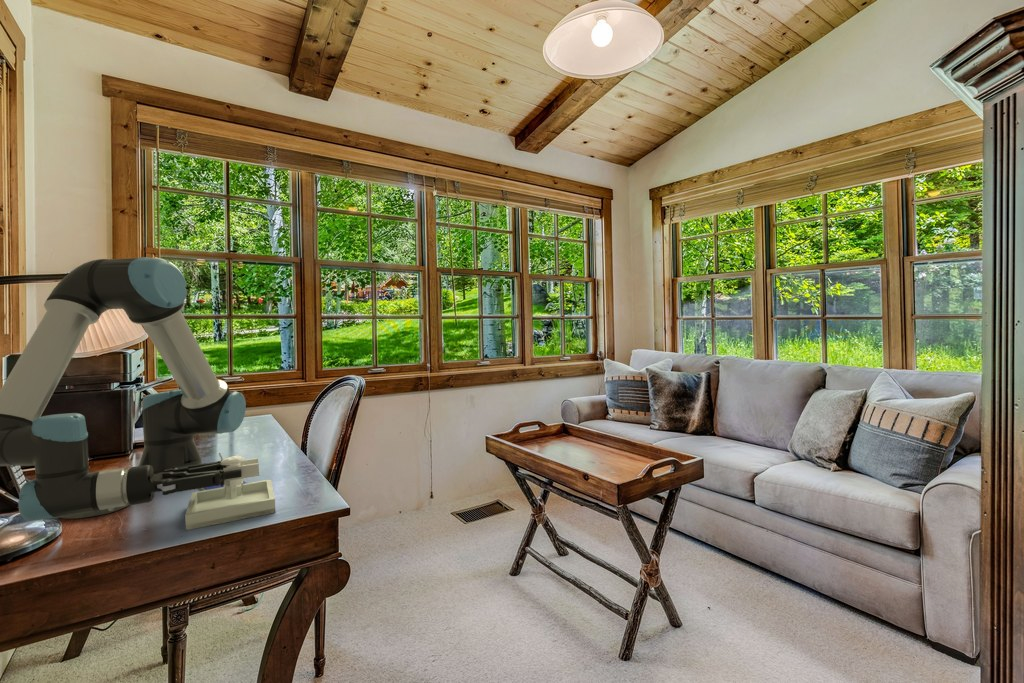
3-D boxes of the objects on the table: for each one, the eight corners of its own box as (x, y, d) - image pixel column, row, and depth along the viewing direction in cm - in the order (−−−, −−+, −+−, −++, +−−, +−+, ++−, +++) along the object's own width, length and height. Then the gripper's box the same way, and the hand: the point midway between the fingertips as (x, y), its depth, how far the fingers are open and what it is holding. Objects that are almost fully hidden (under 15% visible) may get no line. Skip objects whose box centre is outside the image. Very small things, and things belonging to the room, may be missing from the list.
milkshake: (228, 494, 108) (226, 450, 108) (250, 494, 108) (248, 450, 108) (213, 501, 104) (211, 455, 104) (236, 501, 103) (234, 455, 103)
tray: (193, 505, 109) (192, 492, 109) (271, 491, 117) (270, 479, 117) (186, 530, 95) (185, 515, 95) (275, 512, 103) (274, 498, 103)
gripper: (137, 492, 105) (258, 473, 116) (119, 519, 89) (260, 494, 101) (135, 458, 104) (256, 442, 116) (117, 479, 89) (259, 458, 101)
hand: (258, 466), depth 108 cm, fingers closed on milkshake, 4 cm apart
